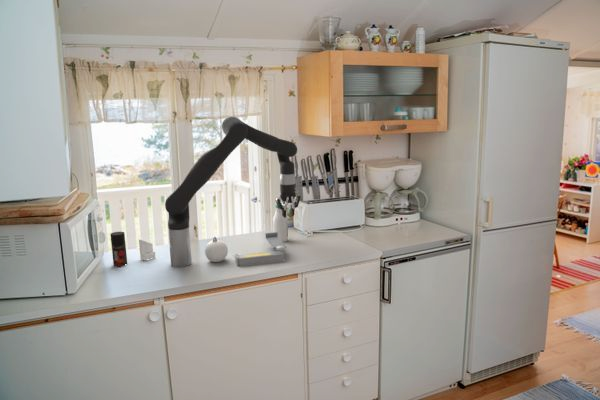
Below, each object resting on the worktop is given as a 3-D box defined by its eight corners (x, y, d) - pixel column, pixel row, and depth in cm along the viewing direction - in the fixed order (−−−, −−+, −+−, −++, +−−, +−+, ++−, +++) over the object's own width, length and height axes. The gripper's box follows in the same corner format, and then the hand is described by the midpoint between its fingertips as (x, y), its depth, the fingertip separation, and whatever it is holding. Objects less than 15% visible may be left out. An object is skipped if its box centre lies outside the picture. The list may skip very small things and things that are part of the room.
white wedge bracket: (131, 256, 212) (138, 239, 214) (149, 262, 220) (156, 245, 221) (135, 258, 210) (142, 240, 212) (153, 263, 217) (160, 246, 219)
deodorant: (128, 262, 212) (125, 231, 209) (126, 266, 207) (122, 234, 204) (115, 263, 211) (112, 232, 208) (112, 267, 206) (108, 235, 203)
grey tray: (237, 267, 203) (237, 257, 202) (232, 256, 218) (232, 247, 217) (285, 261, 209) (285, 252, 208) (277, 251, 224) (277, 242, 223)
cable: (245, 264, 205) (245, 258, 205) (244, 261, 209) (244, 255, 208) (271, 261, 209) (271, 255, 208) (269, 259, 212) (269, 252, 211)
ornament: (210, 266, 204) (209, 241, 202) (202, 260, 213) (201, 235, 210) (231, 262, 210) (230, 237, 207) (223, 256, 218) (221, 232, 216)
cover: (275, 251, 209) (275, 245, 208) (265, 238, 230) (265, 233, 229) (288, 250, 211) (287, 244, 210) (277, 237, 231) (276, 232, 231)
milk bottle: (286, 243, 237) (285, 206, 233) (271, 242, 239) (270, 205, 235) (289, 239, 245) (288, 202, 241) (275, 238, 246) (274, 202, 242)
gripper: (278, 185, 216) (279, 220, 220) (303, 182, 223) (304, 216, 227) (271, 183, 223) (272, 217, 226) (296, 180, 230) (296, 213, 233)
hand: (288, 216), depth 227 cm, fingers open, 3 cm apart
